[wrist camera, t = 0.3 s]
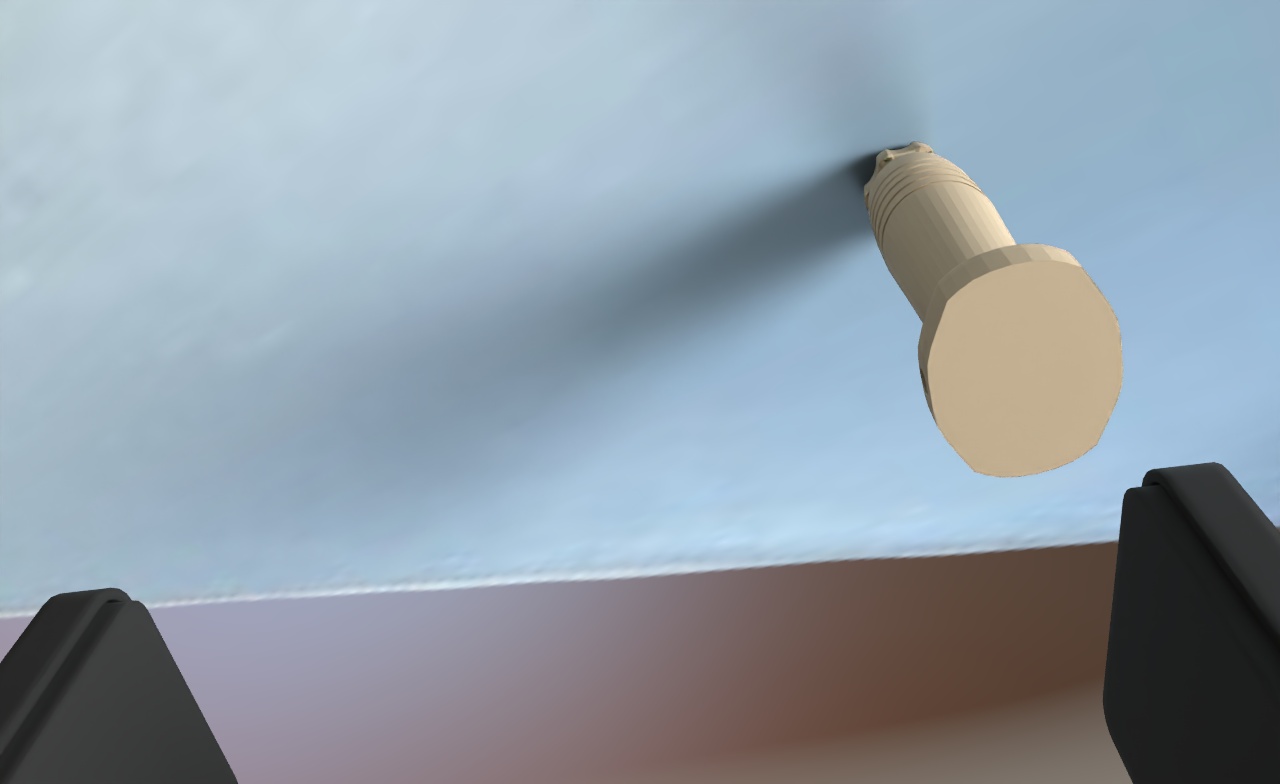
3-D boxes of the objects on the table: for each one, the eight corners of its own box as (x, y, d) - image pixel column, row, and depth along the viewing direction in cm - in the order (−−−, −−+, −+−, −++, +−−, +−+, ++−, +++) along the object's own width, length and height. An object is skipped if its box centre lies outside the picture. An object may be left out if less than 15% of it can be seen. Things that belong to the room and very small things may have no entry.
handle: (956, 80, 38) (1114, 239, 25) (978, 239, 41) (1128, 453, 28) (825, 117, 38) (912, 289, 25) (856, 270, 41) (947, 493, 29)
